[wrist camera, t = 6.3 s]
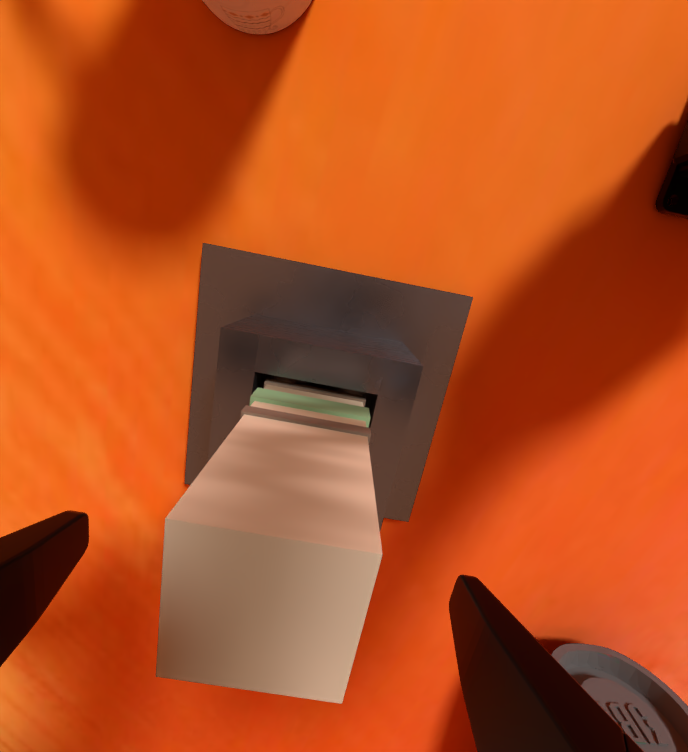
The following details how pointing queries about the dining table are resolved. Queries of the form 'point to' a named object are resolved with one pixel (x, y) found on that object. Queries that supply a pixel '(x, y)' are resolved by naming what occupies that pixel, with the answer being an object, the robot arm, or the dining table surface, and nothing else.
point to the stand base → (324, 356)
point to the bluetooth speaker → (629, 696)
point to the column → (274, 550)
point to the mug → (258, 13)
